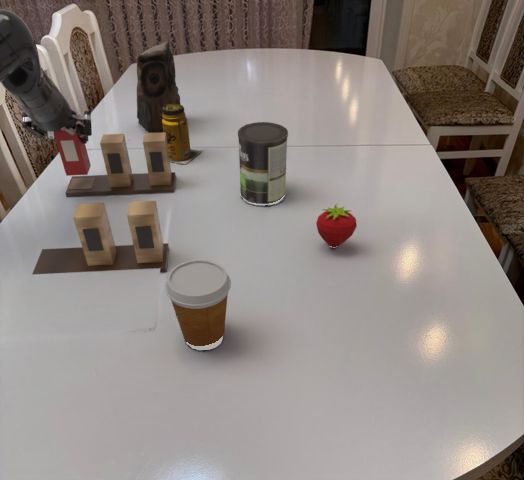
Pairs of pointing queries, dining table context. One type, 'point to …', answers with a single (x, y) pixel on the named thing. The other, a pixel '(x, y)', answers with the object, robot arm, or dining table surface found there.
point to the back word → (128, 170)
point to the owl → (155, 86)
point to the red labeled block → (72, 153)
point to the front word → (109, 243)
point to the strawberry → (336, 225)
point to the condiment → (177, 134)
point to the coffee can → (262, 162)
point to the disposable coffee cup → (199, 299)
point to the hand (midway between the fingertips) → (72, 139)
